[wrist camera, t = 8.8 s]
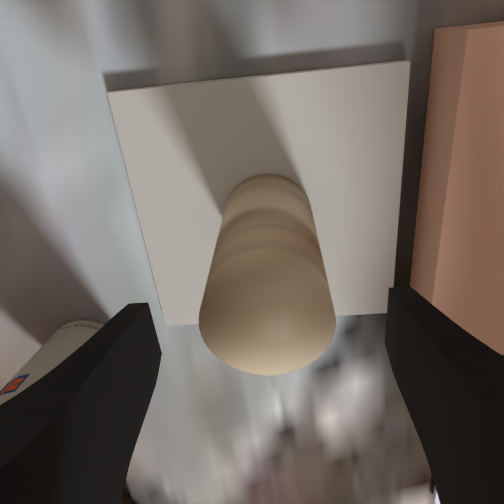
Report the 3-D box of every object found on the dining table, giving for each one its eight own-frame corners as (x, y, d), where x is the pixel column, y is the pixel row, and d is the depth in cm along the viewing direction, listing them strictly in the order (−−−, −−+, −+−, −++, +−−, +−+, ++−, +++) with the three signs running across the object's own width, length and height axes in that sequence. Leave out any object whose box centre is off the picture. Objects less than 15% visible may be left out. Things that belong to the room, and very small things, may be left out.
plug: (313, 250, 20) (335, 372, 13) (230, 256, 20) (209, 377, 13) (309, 169, 18) (335, 261, 11) (219, 177, 18) (187, 270, 11)
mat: (388, 305, 22) (391, 312, 22) (168, 319, 23) (165, 326, 23) (405, 59, 16) (410, 61, 16) (111, 90, 17) (107, 92, 17)
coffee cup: (168, 333, 24) (111, 516, 15) (127, 407, 27) (60, 595, 18) (48, 283, 22) (-95, 453, 13) (19, 367, 25) (-111, 550, 17)
